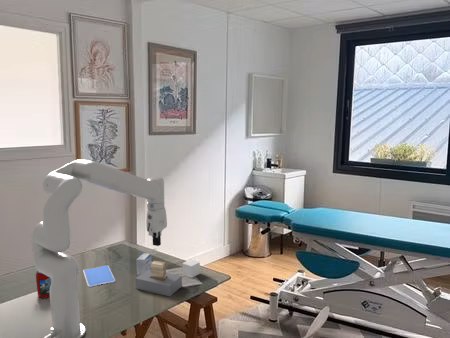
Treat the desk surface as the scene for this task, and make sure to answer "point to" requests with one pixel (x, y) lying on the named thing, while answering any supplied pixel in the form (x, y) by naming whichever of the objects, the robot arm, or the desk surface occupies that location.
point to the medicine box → (143, 263)
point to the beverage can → (43, 284)
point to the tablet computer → (98, 276)
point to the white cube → (191, 268)
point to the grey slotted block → (159, 283)
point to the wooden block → (158, 270)
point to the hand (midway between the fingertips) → (156, 244)
